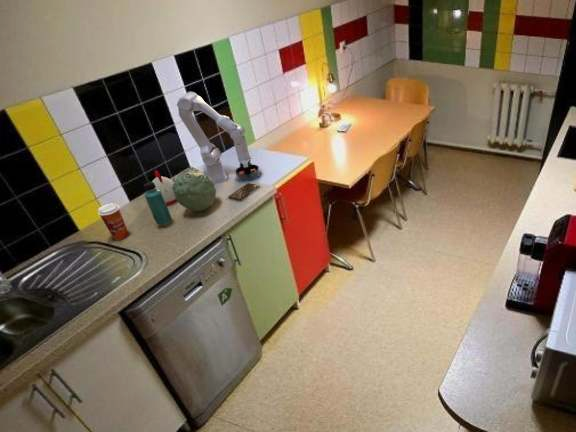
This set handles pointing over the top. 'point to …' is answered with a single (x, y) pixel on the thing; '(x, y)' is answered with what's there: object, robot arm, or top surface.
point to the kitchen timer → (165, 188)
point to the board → (243, 192)
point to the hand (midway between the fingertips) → (248, 174)
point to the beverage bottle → (157, 204)
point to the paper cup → (113, 220)
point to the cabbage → (194, 189)
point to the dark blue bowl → (247, 176)
